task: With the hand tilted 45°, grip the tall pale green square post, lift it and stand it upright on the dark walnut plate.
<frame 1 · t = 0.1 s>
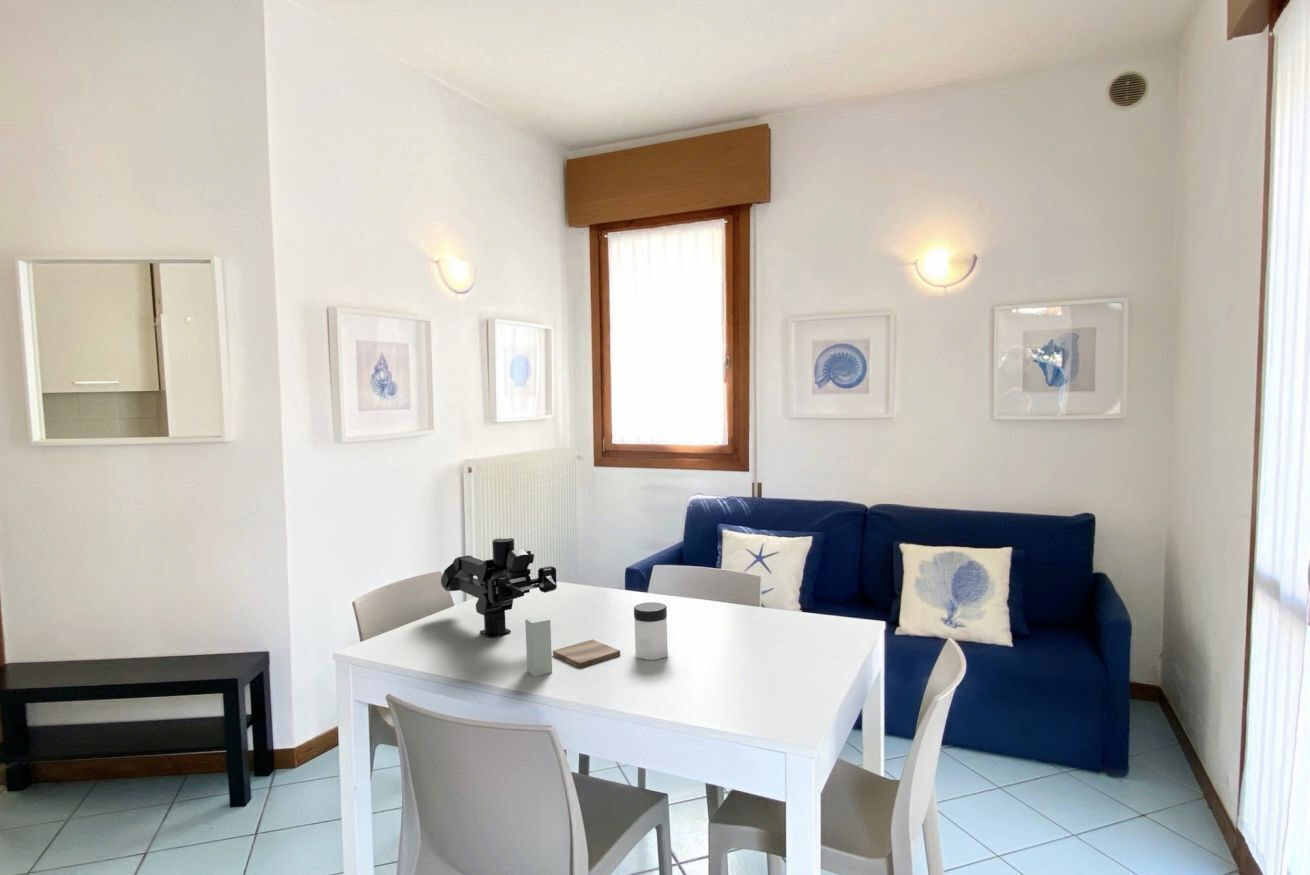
hand: (539, 590, 175), 17 cm above the table, tool horizontal, fingers open, 9 cm apart
pale green square post: (539, 671, 165), on the table
jar: (651, 655, 174), on the table
plate: (586, 655, 175), on the table
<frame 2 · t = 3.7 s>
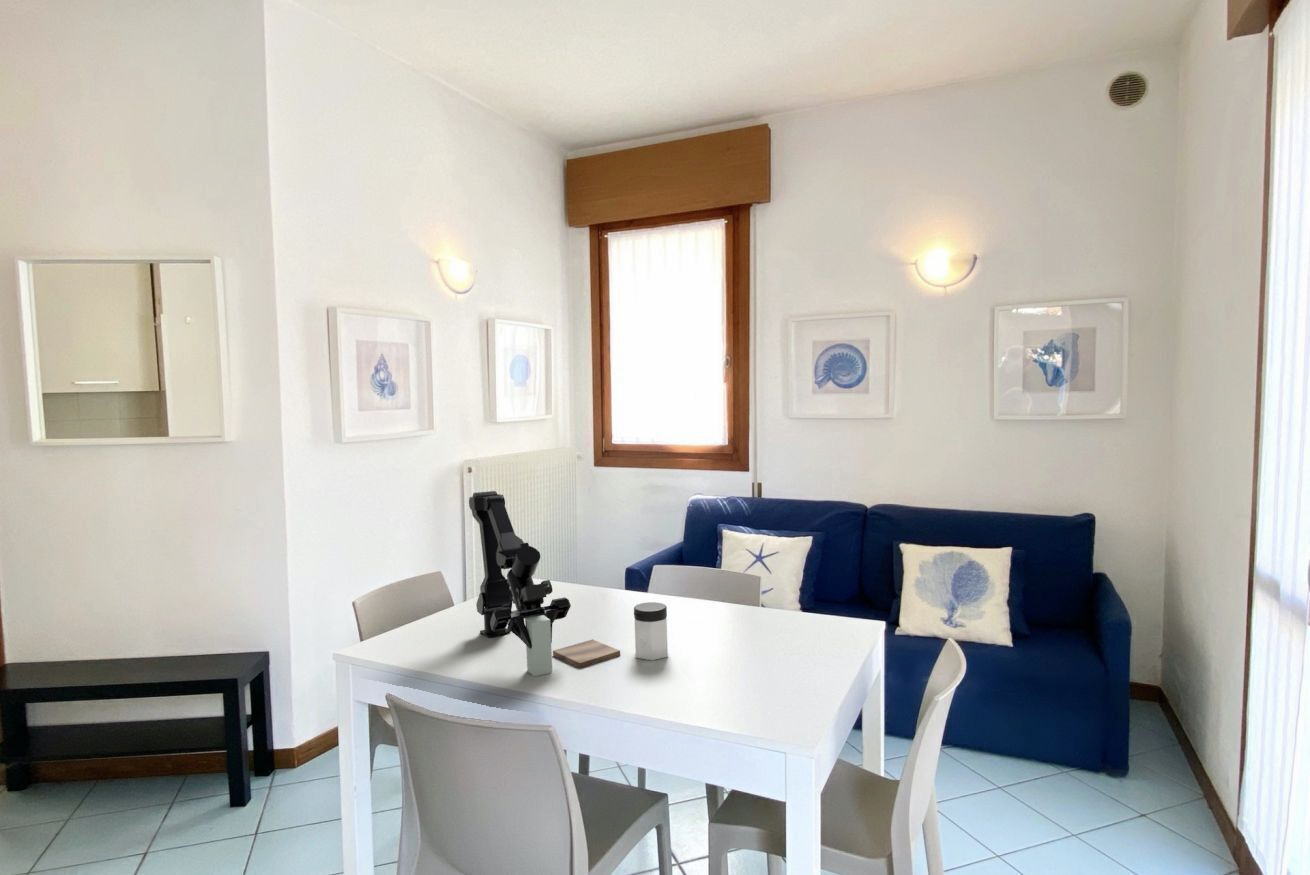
hand: (540, 645, 163), 7 cm above the table, tool tilted 45°, fingers closed on pale green square post, 4 cm apart
pale green square post: (539, 671, 165), on the table, touching gripper
everything else where it was.
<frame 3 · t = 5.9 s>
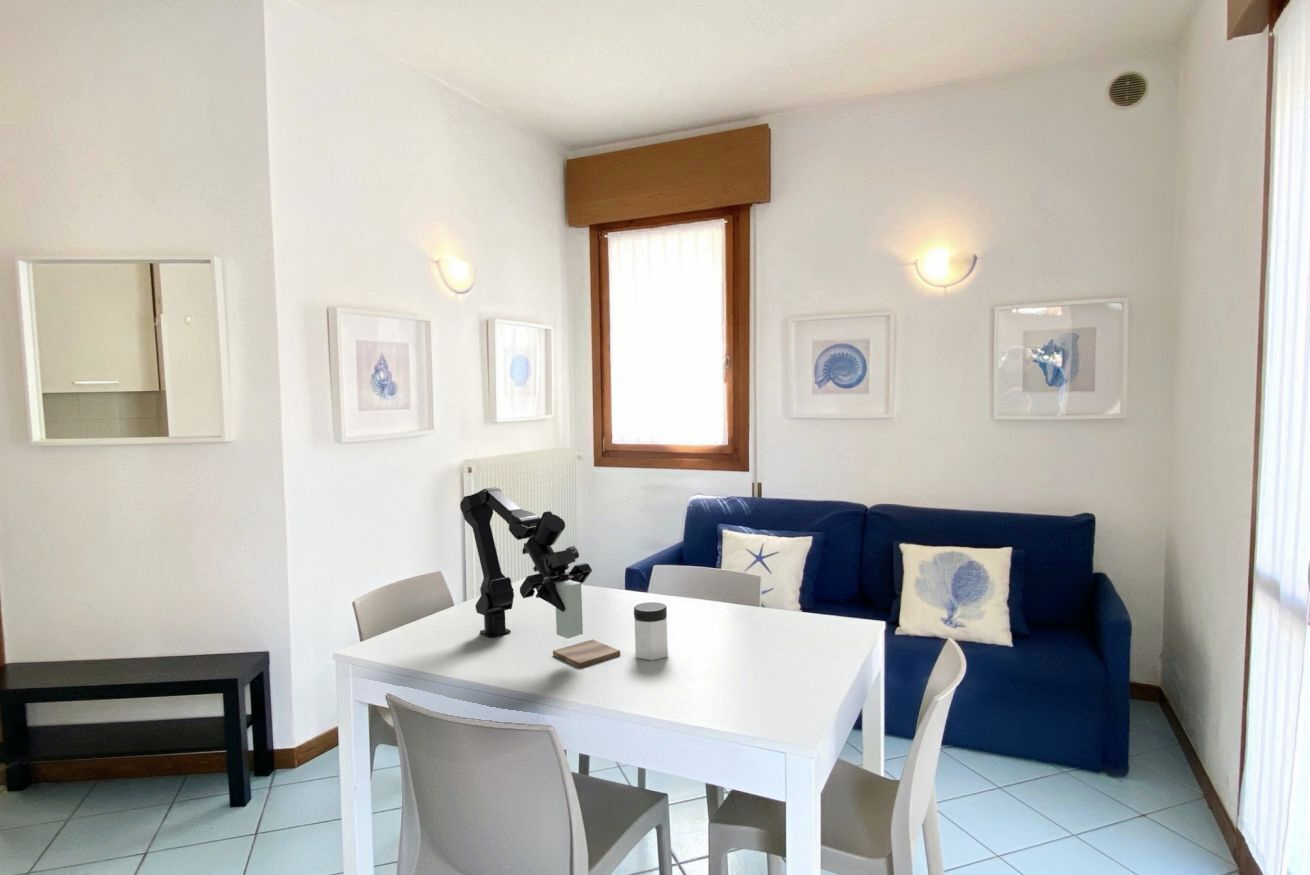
hand: (572, 608, 169), 13 cm above the table, tool tilted 45°, fingers closed on pale green square post, 4 cm apart
pale green square post: (569, 634, 170), point 7 cm above the table, touching gripper
everything else where it was.
when the fingers open (9 cm above the table, at t = 7.9 s): pale green square post stays where it is, resting on plate.
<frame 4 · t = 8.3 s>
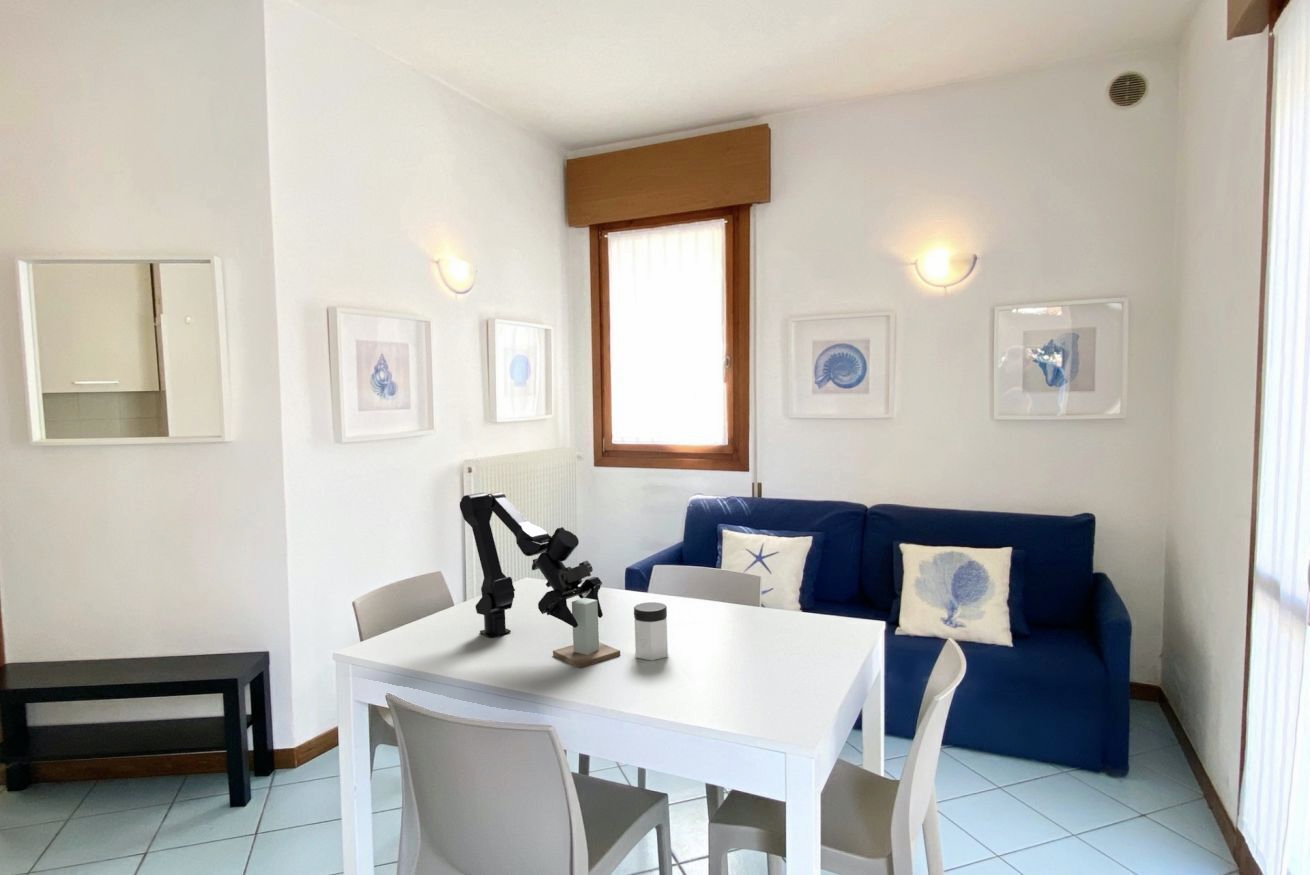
hand: (589, 621, 173), 9 cm above the table, tool tilted 45°, fingers open, 9 cm apart
pale green square post: (586, 650, 175), point 1 cm above the table, touching plate
everything else where it was.
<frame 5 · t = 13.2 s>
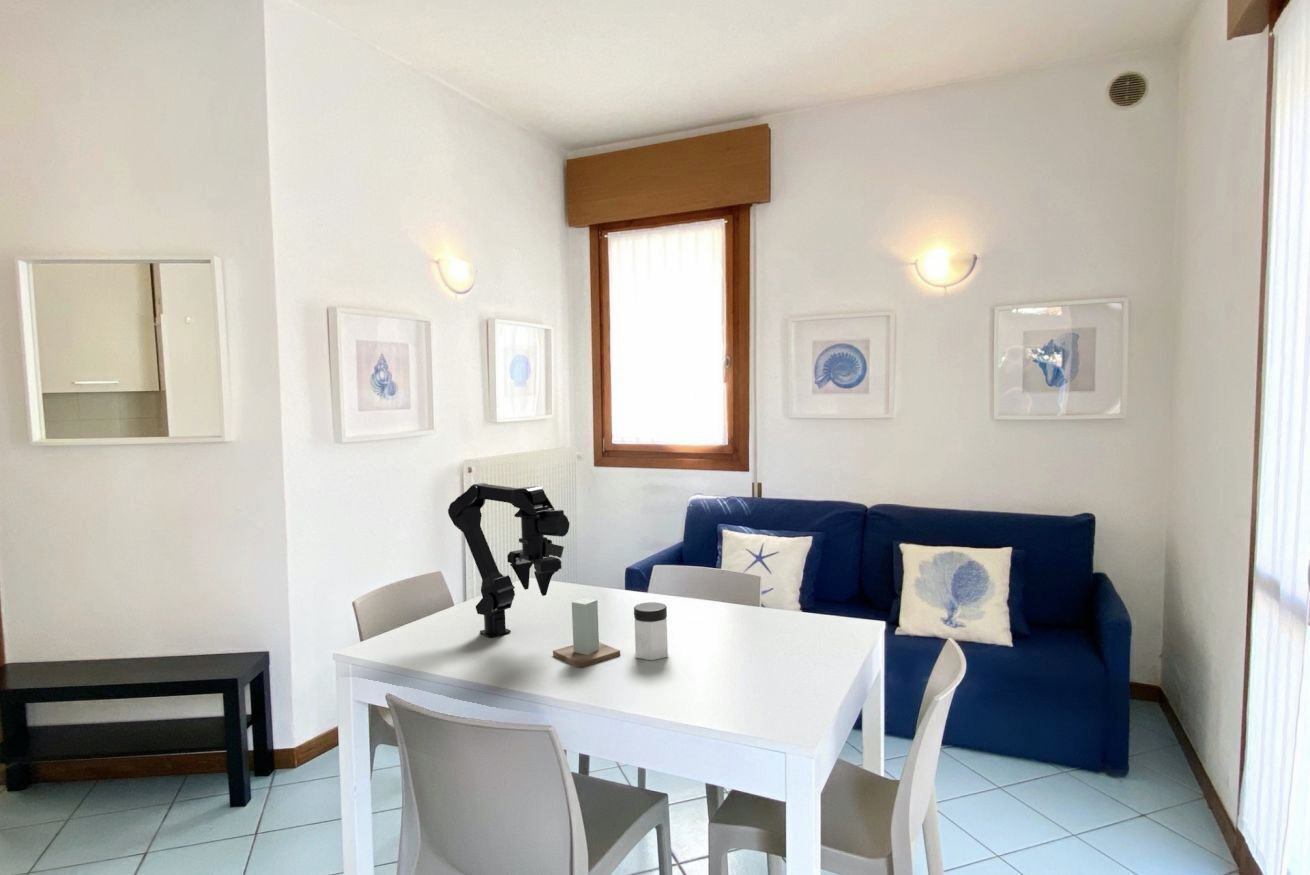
hand: (535, 592, 187), 13 cm above the table, tool pointing down, fingers open, 9 cm apart
nothing on the table moved.
at the end: pale green square post inside the target area on the plate (0.0 cm from its centre), point 1.2 cm above the plate's base; pale green square post tilted 0°; the gripper is holding nothing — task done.
